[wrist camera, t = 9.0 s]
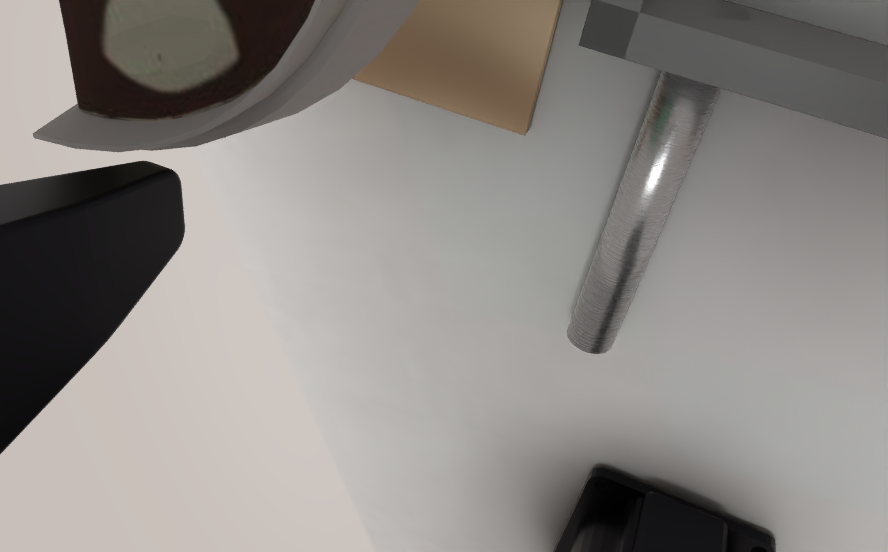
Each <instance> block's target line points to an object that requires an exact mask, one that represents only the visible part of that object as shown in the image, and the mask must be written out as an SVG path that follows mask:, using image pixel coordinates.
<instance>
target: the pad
mask: <svg viewBox="0 0 888 552" xmlns="http://www.w3.org/2000/svg"><path fill="white" fill-rule="evenodd" d="M561 4H562V0H419V2H418V4H417V5H416V7H415V9H414V10H413V11H412V12H411V14H410V15H409V16H408V18H407V19H406V20H405V21H404V23H403V24H402V25H401V27H400V28H399V29H398V30H397V32H396V33H395V34H394V36H393V37H392V38H391V39H390V41H389V42H388V43H387V45H386V46H385V47H384V48H383V50H382V51H381V52H380V53H379V55H378V56H376V57H375V58H374V59H373V60H372V61H371V62H370V63H368V64H367V65H366V66H365V67H364V68H363V69H362V70H360V71H359V72H358V73H357V74H356V75H355V76H354V77H352V79H355V80H358V81H361V82H364V83H367V84H370V85H373V86H376V87H379V88H382V89H385V90H388V91H391V92H394V93H397V94H400V95H403V96H406V97H409V98H412V99H415V100H418V101H421V102H424V103H427V104H430V105H433V106H437V107H440V108H443V109H446V110H449V111H452V112H455V113H458V114H461V115H464V116H467V117H470V118H473V119H476V120H479V121H482V122H485V123H488V124H491V125H494V126H497V127H500V128H503V129H506V130H509V131H512V132H515V133H518V134H521V135H524V136H525V135H526V133H527V132H528V130H529V127H530V123H531V119H532V116H533V112H534V108H535V104H536V100H537V96H538V93H539V89H540V85H541V81H542V77H543V73H544V69H545V66H546V62H547V58H548V54H549V50H550V46H551V43H552V39H553V35H554V31H555V27H556V23H557V19H558V16H559V12H560V8H561Z"/></svg>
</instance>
